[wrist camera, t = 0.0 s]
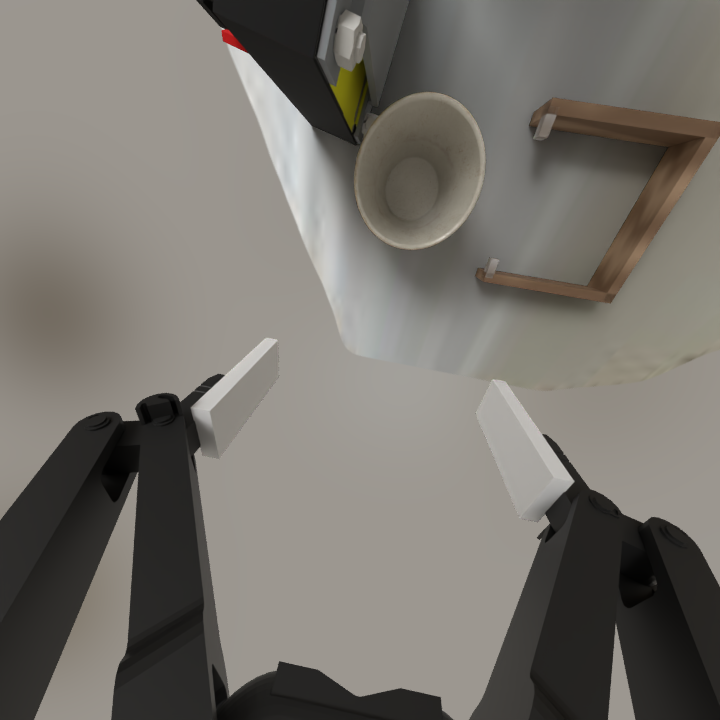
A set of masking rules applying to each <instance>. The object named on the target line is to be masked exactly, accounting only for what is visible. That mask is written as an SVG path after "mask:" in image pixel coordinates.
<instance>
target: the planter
mask: <svg viewBox="0 0 720 720" xmlns="http://www.w3.org/2000/svg"><path fill="white" fill-rule="evenodd" d="M485 168H486V155H485V146H484V141H483V137H482V134H481V131H480V129H479V127H478V124H477V122H476V121H475V119H474V117H473V116H472V115H471V113H470V112H469V111H468V110H467V109H466V108H465V107H464V106H463V105H462V104H461V103H460V102H458V101H457V100H455V99H454V98H452V97H450V96H447V95H445V94H441V93H437V92H419V93H414V94H411V95H408V96H405V97H403V98H401V99H399V100H397V101H396V102H394V103H393V104H391V105H390V106H389V107H387V108H386V109H385V110H384V111H383V112H382V113H381V114H380V115H379V116H378V117H377V118H376V119H375V121H374V122H373V123H372V125H371V126H370V128H369V129H368V131H367V133H366V135H365V137H364V139H363V141H362V143H361V146H360V148H359V151H358V155H357V159H356V164H355V171H354V190H355V197H356V202H357V205H358V209H359V211H360V214H361V216H362V218H363V220H364V222H365V223H366V225H367V226H368V228H369V229H370V230H371V231H372V232H373V234H374V235H376V236H377V237H378V238H379V239H380V240H382V241H383V242H385V243H387V244H388V245H391V246H393V247H396V248H400V249H405V250H418V249H424V248H428V247H431V246H434V245H436V244H438V243H440V242H442V241H444V240H445V239H447V238H448V237H449V236H451V235H452V234H453V233H454V232H456V231H457V230H458V229H459V228H460V226H461V225H462V224H463V223H464V222H465V221H466V219H467V218H468V216H469V215H470V213H471V212H472V210H473V208H474V206H475V205H476V202H477V200H478V198H479V195H480V192H481V189H482V186H483V181H484V176H485Z"/></svg>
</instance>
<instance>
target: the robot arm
mask: <svg viewBox="0 0 720 720" xmlns="http://www.w3.org/2000/svg"><path fill="white" fill-rule="evenodd" d="M278 377H279V355H278V340H276V339H270V338H265V339H264V340H263V341H262V342H261V343H260V344H259V345H258V346H256V348H254V349H253V350H252V351H251V352H250V353H249V354H248V355H247V356H246V357H245V358H244V359H243V360H241V361H240V362H239V363H238V364H237V365H236V366H235V367H234V368H233V369H232V370H231V371H229V372H228V373H227V374H226V375H221V374H217V375H215V376H212V377H210V378H208V379H207V380H206V381H205V382H203V383H202V384H201V386H199V387H198V388H196V389H195V391H193V392H192V393H191V394H190V395H188V396H187V397H186V398H185V399H184V400H182V401H181V402H180V401H179V398H178V397H177V396H176V395H174V394H169V393H161V394H156V395H152V396H149V397H147V398H145V399H143V400H142V401H140V402H139V403H138V404H137V406H136V408H135V410H136V412H137V415H138V417H139V420H140V421H122V418H121V416H120V415H119V414H118V413H115V412H102V413H96V414H94V415H91V416H88V417H86V418H84V419H82V420H80V421H79V422H78V423H77V424H76V425H75V426H73V428H72V429H71V430H70V431H69V433H68V434H67V435H66V437H65V438H64V439H63V440H62V442H61V443H60V444H59V446H58V447H57V448H56V449H55V451H54V452H53V453H52V455H51V456H50V457H49V459H48V460H47V461H46V462H45V464H44V465H43V466H42V467H41V469H40V470H39V471H38V473H37V474H36V475H35V476H34V478H33V479H32V480H31V482H30V483H29V484H28V485H27V487H26V488H25V489H24V491H23V492H22V493H21V494H20V496H19V497H18V498H17V499H16V501H15V502H14V503H13V505H12V506H11V507H10V508H9V510H8V511H7V512H6V514H5V515H4V516H3V518H2V519H1V520H0V720H34V718H35V716H36V713H37V711H38V709H39V706H40V704H41V701H42V699H43V696H44V694H45V692H46V690H47V687H48V685H49V682H50V680H51V677H52V675H53V673H54V670H55V668H56V666H57V663H58V661H59V658H60V656H61V654H62V651H63V649H64V646H65V644H66V642H67V639H68V637H69V635H70V632H71V630H72V627H73V625H74V623H75V620H76V618H77V615H78V613H79V611H80V608H81V606H82V603H83V601H84V599H85V596H86V594H87V591H88V589H89V587H90V584H91V582H92V580H93V577H94V575H95V572H96V570H97V567H98V565H99V563H100V560H101V558H102V556H103V553H104V551H105V548H106V546H107V544H108V541H109V538H110V536H111V534H112V531H113V529H114V527H115V525H116V522H117V520H118V517H119V515H120V512H121V510H122V508H123V505H124V503H125V501H126V498H127V496H128V493H129V491H130V489H131V486H132V484H133V481H134V479H135V477H136V474H137V472H139V474H138V490H137V505H136V522H135V537H134V552H133V569H132V583H131V600H130V616H129V630H128V631H129V632H128V643H127V650H126V654H125V656H124V657H123V659H122V661H121V662H120V664H119V667H118V670H117V674H116V679H115V686H114V695H113V706H112V719H111V720H453V719H452V718H451V717H450V716H449V715H448V714H446V713H445V712H444V711H442V706H441V698H440V697H437V696H432V695H428V694H424V693H419V692H415V691H410V690H406V689H401V688H400V689H395V690H391V691H386V692H381V693H377V694H372V695H367V696H363V697H358V696H355V695H353V694H352V693H350V692H349V691H348V690H346V689H345V688H343V687H342V686H340V685H339V684H338V683H336V682H335V681H333V680H332V679H330V678H329V677H327V676H326V675H325V674H323V673H322V672H320V671H319V670H316V669H311V668H307V667H302V666H298V665H293V664H289V663H285V662H279V664H278V668H277V671H274V672H269V673H266V674H264V675H261V676H259V677H256V678H255V679H253V680H251V681H250V682H248V683H246V684H245V685H244V686H242V687H241V688H240V689H238V690H237V691H236V692H234V693H233V695H231V696H230V697H229V690H228V683H227V676H226V669H225V663H224V658H223V653H222V648H221V643H220V637H219V630H218V624H217V616H216V608H215V601H214V594H213V586H212V579H211V572H210V564H209V557H208V550H207V542H206V535H205V528H204V520H203V513H202V506H201V498H200V491H199V485H198V476H197V469H196V461H195V456H194V453H195V452H196V451H197V449H198V448H199V447H200V448H201V451H202V455H203V456H208V457H212V458H218V459H219V458H220V457H221V456H222V454H223V453H224V452H225V450H226V449H227V448H228V446H229V445H230V443H231V442H232V441H233V439H234V438H235V437H236V435H237V434H238V432H239V431H240V430H241V428H242V427H243V425H244V424H245V423H246V422H247V420H248V419H249V417H250V416H251V415H252V413H253V412H254V410H255V409H256V408H257V406H258V405H259V403H260V402H261V401H262V400H263V398H264V397H265V395H266V394H267V393H268V391H269V390H270V389H271V387H272V386H273V384H274V383H275V381H276V380H277V379H278ZM476 416H477V419H478V421H479V423H480V426H481V428H482V431H483V433H484V435H485V438H486V440H487V442H488V445H489V447H490V450H491V452H492V454H493V456H494V459H495V461H496V464H497V466H498V468H499V471H500V473H501V476H502V478H503V480H504V483H505V485H506V487H507V490H508V492H509V494H510V497H511V499H512V501H513V504H514V506H515V509H516V511H517V514H518V516H519V518H520V519H524V520H530V521H534V522H538V521H539V520H540V519H541V518H542V517H543V516H544V515H545V514H546V516H547V518H548V520H549V522H550V524H549V525H548V526H547V527H546V528H545V529H544V530H543V531H542V532H541V533H540V535H539V536H538V537H537V538H538V539H539V540H540V539H541V538H542V540H541V542H540V545H539V548H538V550H537V553H536V556H535V558H534V561H533V564H532V567H531V569H530V572H529V575H528V577H527V580H526V583H525V586H524V588H523V591H522V594H521V596H520V599H519V602H518V605H517V607H516V610H515V612H514V615H513V618H512V621H511V623H510V626H509V629H508V632H507V634H506V637H505V640H504V642H503V645H502V648H501V650H500V653H499V656H498V658H497V661H496V664H495V666H494V669H493V672H492V675H491V677H490V680H489V683H488V685H487V688H486V691H485V693H484V696H483V698H482V700H481V702H480V703H479V705H478V706H477V708H476V709H475V710H474V712H473V713H472V716H471V717H470V719H469V720H608V711H609V698H610V686H611V673H612V661H613V649H614V635H615V624H616V625H617V630H618V635H619V640H620V644H621V650H622V655H623V660H624V665H625V669H626V674H627V679H628V684H629V688H630V694H631V699H632V704H633V709H634V713H635V719H636V720H720V587H719V584H718V583H717V581H716V579H715V577H714V575H713V573H712V571H711V569H710V568H709V566H708V563H707V562H706V560H705V558H704V556H703V554H702V552H701V550H700V549H699V547H698V546H697V545H696V543H695V542H694V541H693V540H692V539H691V538H690V537H689V536H688V535H687V534H686V533H685V532H683V531H682V530H680V528H678V527H677V526H675V525H673V524H671V523H669V522H668V521H666V520H663V519H660V518H656V517H651V518H650V519H648V520H647V521H646V522H645V523H641V522H639V521H637V520H635V519H632V518H630V517H628V516H625V515H623V514H622V513H621V511H620V510H619V508H618V507H617V506H616V505H615V504H614V503H613V502H612V501H611V500H609V499H608V498H607V497H605V496H604V495H602V494H600V493H598V492H596V491H594V490H590V489H589V487H588V486H587V485H586V483H585V482H584V481H583V479H582V478H581V476H580V475H579V474H578V472H577V471H576V469H575V468H574V467H573V465H572V464H571V463H570V462H569V460H568V459H567V457H566V456H565V455H563V452H562V450H561V449H560V447H559V446H558V445H557V444H556V443H555V442H554V441H553V440H552V439H551V438H549V436H547V435H544V434H541V433H540V431H539V430H538V428H537V427H536V425H535V424H534V422H533V421H532V419H531V418H530V416H529V415H528V414H527V412H526V411H525V409H524V408H523V406H522V405H521V403H520V402H519V401H518V399H517V398H516V396H515V395H514V393H513V392H512V390H511V389H510V388H509V386H508V385H507V383H506V382H505V381H500V380H495V379H492V381H491V383H490V385H489V387H488V389H487V391H486V393H485V395H484V397H483V399H482V401H481V403H480V405H479V408H478V410H477V412H476Z"/></svg>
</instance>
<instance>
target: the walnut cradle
mask: <svg viewBox="0 0 720 720" xmlns="http://www.w3.org/2000/svg"><path fill="white" fill-rule="evenodd" d="M529 126H532V127H537V130H536V133H535V135H534V138H533V139H535V140H541V141H542V140H544V139H546V138H548V136H549V133H550V131H551V129H552V130H559V131H565V132H572V133H579V134H585V135H592V136H598V137H605V138H612V139H618V140H625V141H631V142H638V143H645V144H651V145H658V146H665V147H668V149H667V150H666V152H665V154H664V155H663V157H662V159H661V161H660V162H659V164H658V166H657V167H656V169H655V171H654V173H653V174H652V176H651V178H650V179H649V181H648V183H647V185H646V186H645V188H644V190H643V191H642V193H641V195H640V197H639V198H638V200H637V202H636V203H635V205H634V207H633V208H632V210H631V212H630V214H629V215H628V217H627V219H626V220H625V222H624V224H623V226H622V227H621V229H620V231H619V232H618V234H617V236H616V238H615V239H614V241H613V243H612V244H611V246H610V248H609V250H608V251H607V253H606V255H605V256H604V258H603V260H602V262H601V263H600V265H599V267H598V268H597V270H596V272H595V273H594V275H593V277H592V279H591V280H590V282H589V284H588V285H587V286H583V285H577V284H571V283H565V282H559V281H553V280H547V279H541V278H536V277H530V276H524V275H518V274H512V273H506V272H500V271H495V270H496V268H497V265H498V263H499V259H496V258H490V257H489V259H488V262H487V264H486V267H485V269H482V268H478V269H477V272H476V275H475V276H476V277H477V278H479V279H480V280H482V281H483V282H488V283H494V284H500V285H506V286H512V287H517V288H523V289H529V290H535V291H541V292H547V293H552V294H558V295H564V296H570V297H576V298H582V299H588V300H593V301H599V302H605V303H611V302H612V300H613V299H614V297H615V296H616V294H617V293H618V291H619V290H620V288H621V287H622V285H623V284H624V282H625V280H626V279H627V277H628V276H629V274H630V273H631V271H632V270H633V268H634V267H635V265H636V264H637V262H638V261H639V259H640V257H641V256H642V254H643V253H644V251H645V250H646V248H647V247H648V245H649V244H650V242H651V241H652V239H653V238H654V236H655V234H656V233H657V231H658V230H659V228H660V227H661V225H662V224H663V222H664V221H665V219H666V218H667V216H668V215H669V213H670V211H671V210H672V208H673V207H674V205H675V204H676V202H677V201H678V199H679V198H680V196H681V195H682V193H683V192H684V190H685V188H686V187H687V185H688V184H689V182H690V181H691V179H692V178H693V176H694V175H695V173H696V172H697V170H698V169H699V167H700V165H701V164H702V162H703V161H704V159H705V158H706V156H707V155H708V153H709V152H710V150H711V149H712V147H713V146H714V144H715V142H716V141H717V139H718V138H719V136H720V122H715V121H708V120H701V119H695V118H688V117H681V116H674V115H667V114H661V113H654V112H647V111H640V110H633V109H627V108H620V107H613V106H606V105H599V104H593V103H586V102H579V101H572V100H566V99H559V98H552V99H551V100H549V101H548V102H547V103H545V104H544V105H543V106H541V107H540V108H539V109H538V110H536V111H535V112H534V113H533V116H532V119H531V122H530V125H529Z"/></svg>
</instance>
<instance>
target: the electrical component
mask: <svg viewBox="0 0 720 720" xmlns="http://www.w3.org/2000/svg"><path fill="white" fill-rule="evenodd" d="M197 1H198V3H199V4H200V5H201V6H202V7H203V8H204V9H205V10H206V11H207V13H208V14H209V15H210V16H211V17H212V18H213V19H214V20H215V22H217V24H218V25H219V26H220V27H222V28H224V29H225V30H222V37H223V41H224V42H226V43H228V44H230V45H232V46H234V47H236V48H238V49H240V50H243V51H245V52H247V53H249V54H250V55H251V56H252V57H253V59H254V60H255V61H256V62H257V63H258V64H259V66H260V67H261V68H262V69H263V70H264V71H265V72H266V74H267V75H268V76H269V77H270V78H271V79H272V80H273V82H274V83H275V84H276V85H277V86H278V87H279V89H280V90H281V91H282V92H283V93H284V94H285V95H286V97H287V98H288V99H289V100H290V101H291V102H292V104H293V105H294V106H295V107H296V108H297V109H298V110H299V112H300V113H301V114H302V115H303V116H304V117H305V118H306V120H307V121H308V122H309V123H310V124H311V125H312V126H315V127H317V128H319V129H321V130H323V131H326V132H328V133H330V134H332V135H334V136H337V137H339V138H341V139H343V140H345V141H348V142H350V143H352V144H354V145H356V144H357V143H359V144H361V143H362V140H363V136H364V137H365V135H366V133H367V131H368V129H369V128H370V126H371V125H372V123H373V122H374V121H375V119H376V118H377V117H378V115H376V114H373V113H370V112H371V108H372V106H374V107H378V105H379V102H380V98H381V95H382V92H383V88H384V85H385V82H386V78H387V75H388V71H389V68H390V65H391V61H392V58H393V54H394V51H395V48H396V44H397V41H398V38H399V34H400V31H401V27H402V24H403V21H404V17H405V14H406V11H407V7H408V4H409V0H197Z"/></svg>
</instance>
